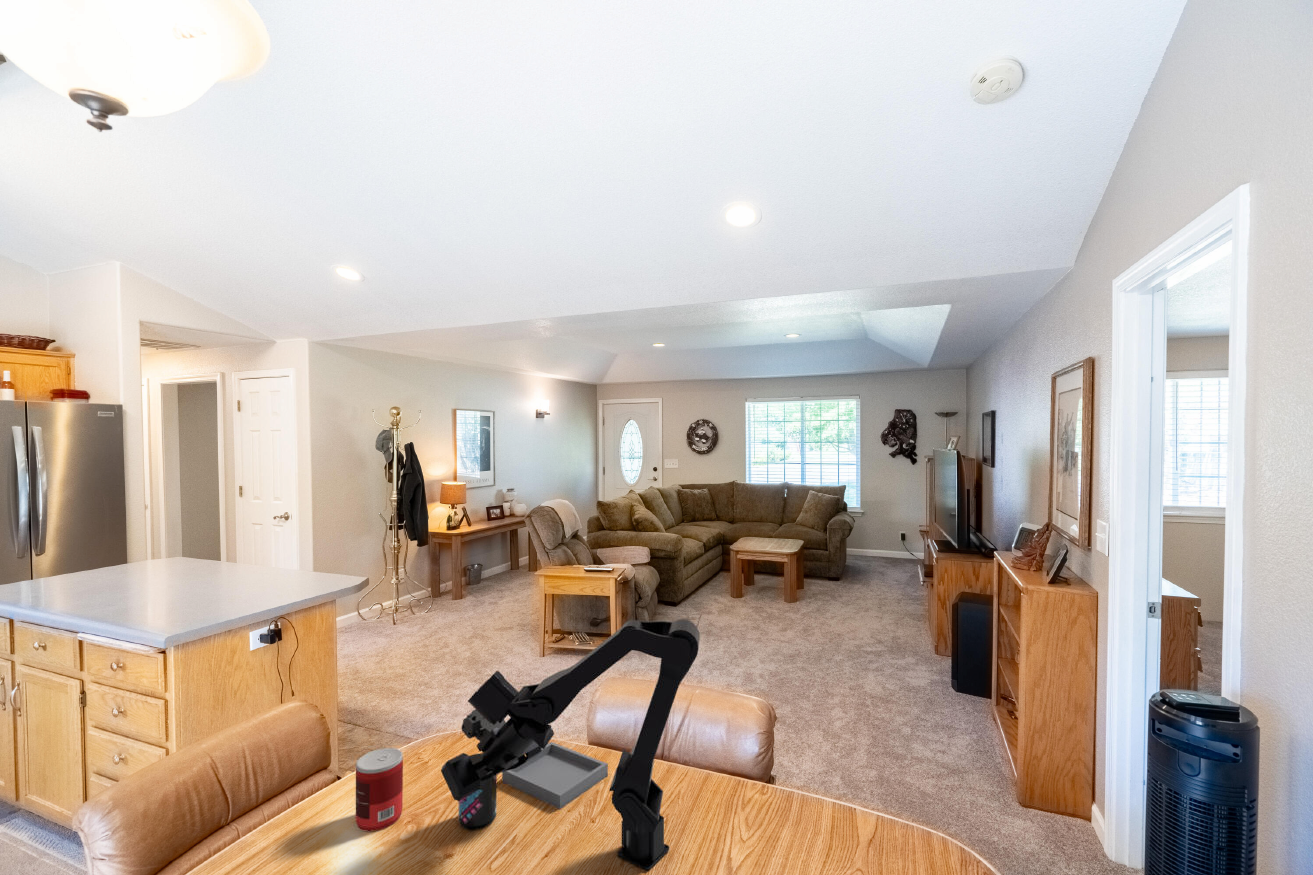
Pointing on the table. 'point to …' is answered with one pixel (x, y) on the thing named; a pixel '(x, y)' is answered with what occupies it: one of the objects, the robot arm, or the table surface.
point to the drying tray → (556, 775)
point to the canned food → (379, 789)
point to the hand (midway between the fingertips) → (472, 780)
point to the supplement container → (479, 802)
